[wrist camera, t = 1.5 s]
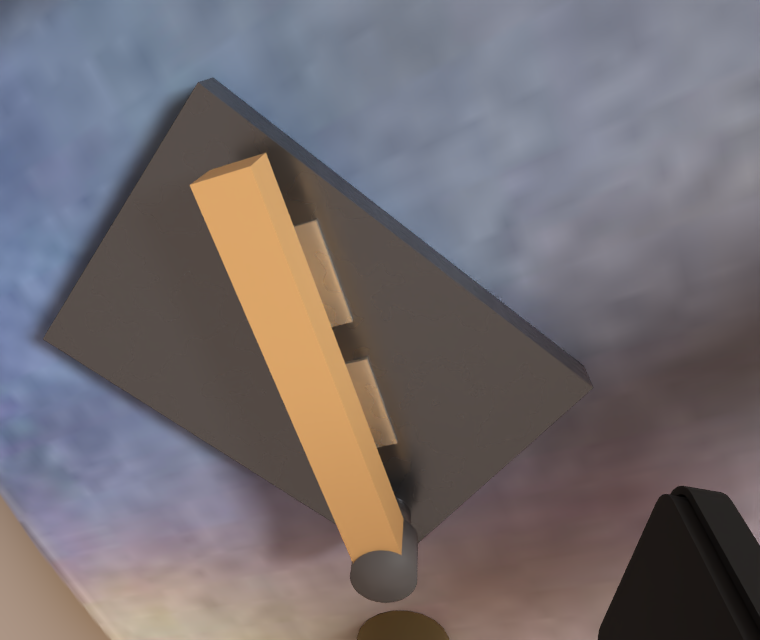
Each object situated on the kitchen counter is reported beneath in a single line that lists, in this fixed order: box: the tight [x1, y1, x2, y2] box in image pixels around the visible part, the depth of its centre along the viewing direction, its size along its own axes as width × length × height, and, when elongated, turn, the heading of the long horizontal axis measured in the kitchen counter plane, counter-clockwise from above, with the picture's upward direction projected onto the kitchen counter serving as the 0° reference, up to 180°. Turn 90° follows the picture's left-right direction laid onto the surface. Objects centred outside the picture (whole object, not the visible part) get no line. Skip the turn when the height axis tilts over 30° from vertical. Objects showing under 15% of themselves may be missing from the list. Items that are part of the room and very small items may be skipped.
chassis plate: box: [43, 78, 593, 543], centre depth 31 cm, size 22×15×4 cm
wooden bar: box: [190, 153, 418, 603], centre depth 28 cm, size 22×3×3 cm, turn 17°
